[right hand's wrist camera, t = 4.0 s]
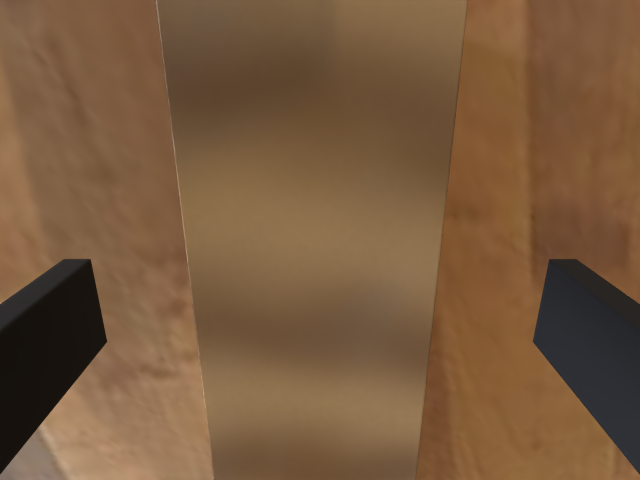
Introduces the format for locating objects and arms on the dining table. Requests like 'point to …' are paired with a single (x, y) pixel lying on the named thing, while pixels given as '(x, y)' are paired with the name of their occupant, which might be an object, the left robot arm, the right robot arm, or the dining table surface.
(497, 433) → the dining table surface
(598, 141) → the dining table surface
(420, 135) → the wide beam
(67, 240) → the dining table surface
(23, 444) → the right robot arm
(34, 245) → the dining table surface
